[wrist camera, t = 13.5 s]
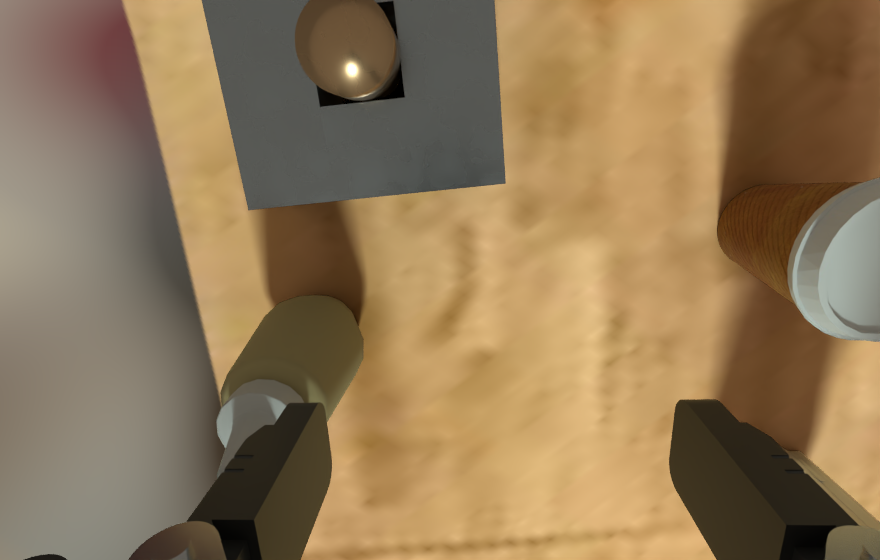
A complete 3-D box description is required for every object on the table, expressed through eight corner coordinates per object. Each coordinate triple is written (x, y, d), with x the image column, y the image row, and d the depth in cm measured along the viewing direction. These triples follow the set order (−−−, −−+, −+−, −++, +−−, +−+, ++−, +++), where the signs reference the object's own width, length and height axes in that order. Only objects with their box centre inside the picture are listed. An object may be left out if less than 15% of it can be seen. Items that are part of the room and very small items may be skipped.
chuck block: (477, -76, 31) (486, -134, 24) (493, 173, 36) (505, 183, 29) (236, -46, 32) (180, -94, 25) (284, 195, 36) (248, 210, 30)
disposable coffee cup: (814, 144, 35) (996, 149, 23) (828, 262, 38) (997, 319, 26) (685, 187, 36) (798, 212, 24) (707, 299, 38) (818, 370, 27)
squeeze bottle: (263, 287, 38) (117, 413, 21) (361, 274, 38) (293, 391, 21) (286, 376, 41) (172, 553, 24) (379, 364, 40) (331, 536, 23)
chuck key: (404, 29, 33) (386, -19, 22) (413, 103, 34) (399, 90, 24) (336, 37, 33) (285, -7, 22) (347, 110, 34) (304, 100, 24)
